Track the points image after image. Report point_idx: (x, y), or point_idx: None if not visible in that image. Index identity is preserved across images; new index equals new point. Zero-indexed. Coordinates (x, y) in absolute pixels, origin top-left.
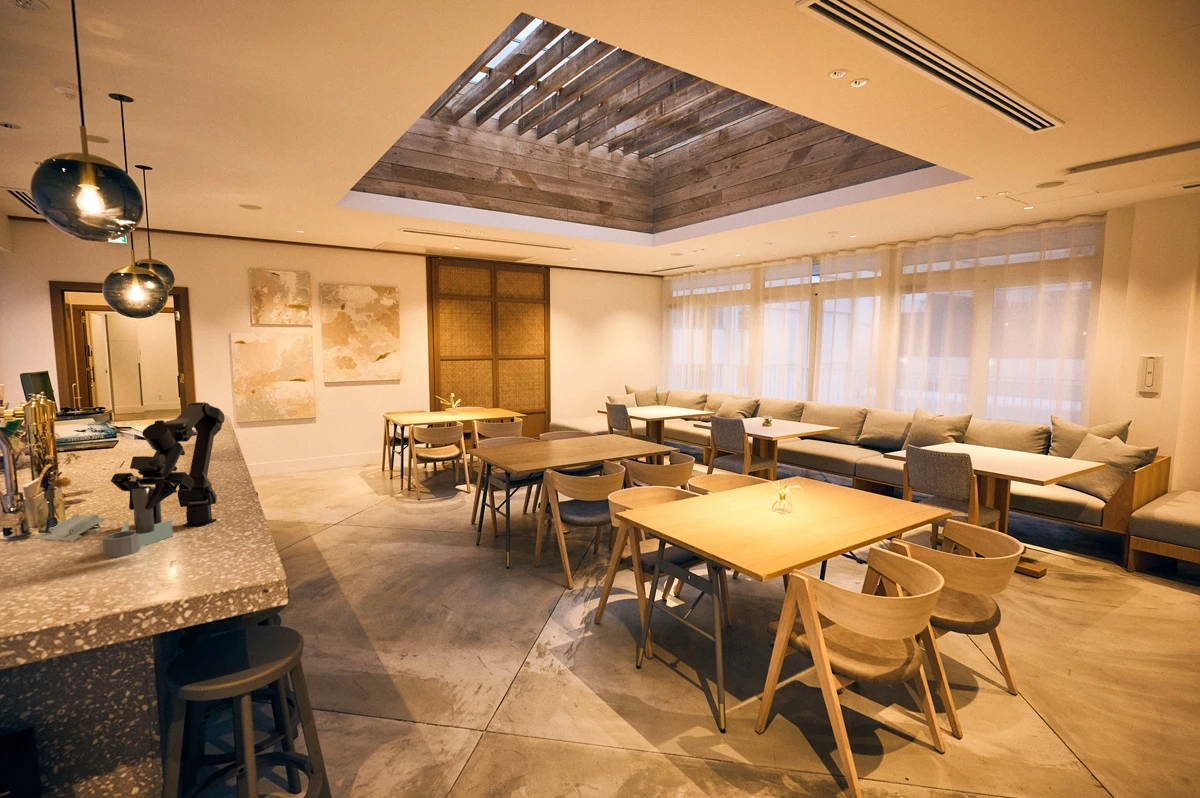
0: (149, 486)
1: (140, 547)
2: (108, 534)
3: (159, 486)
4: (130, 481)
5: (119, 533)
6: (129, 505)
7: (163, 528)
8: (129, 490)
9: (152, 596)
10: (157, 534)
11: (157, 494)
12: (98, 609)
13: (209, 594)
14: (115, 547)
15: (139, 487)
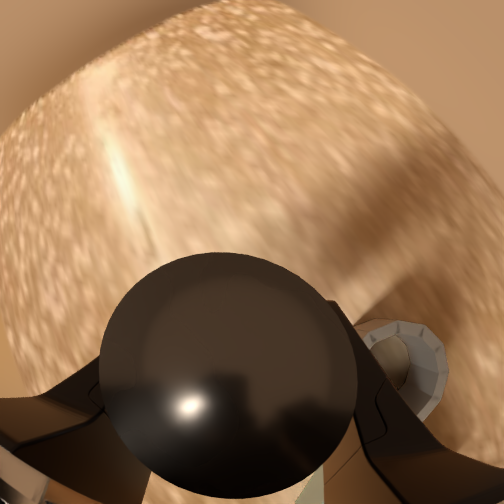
0: (153, 464)
1: None
2: (444, 385)
3: (31, 403)
4: (477, 501)
5: (418, 410)
6: (341, 313)
7: (311, 501)
8: (430, 432)
9: (118, 71)
10: (321, 477)
11: (94, 368)
12: (181, 32)
13: (49, 91)
14: (376, 322)
15: (282, 438)
